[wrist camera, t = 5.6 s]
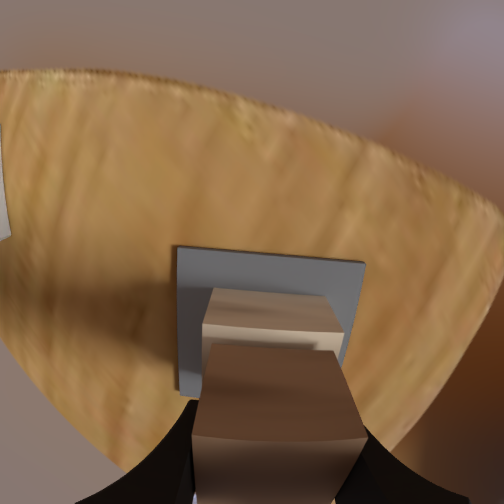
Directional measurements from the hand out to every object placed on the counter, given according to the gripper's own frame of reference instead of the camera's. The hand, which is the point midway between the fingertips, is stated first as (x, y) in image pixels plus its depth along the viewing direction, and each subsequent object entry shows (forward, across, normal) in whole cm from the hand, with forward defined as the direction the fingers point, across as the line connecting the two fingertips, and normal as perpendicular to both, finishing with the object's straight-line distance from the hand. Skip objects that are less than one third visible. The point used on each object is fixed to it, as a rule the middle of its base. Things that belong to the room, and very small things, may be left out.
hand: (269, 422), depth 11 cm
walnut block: (+2, 0, 0) cm, 2 cm away
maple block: (+6, 0, 0) cm, 6 cm away
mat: (+7, 0, 0) cm, 7 cm away
